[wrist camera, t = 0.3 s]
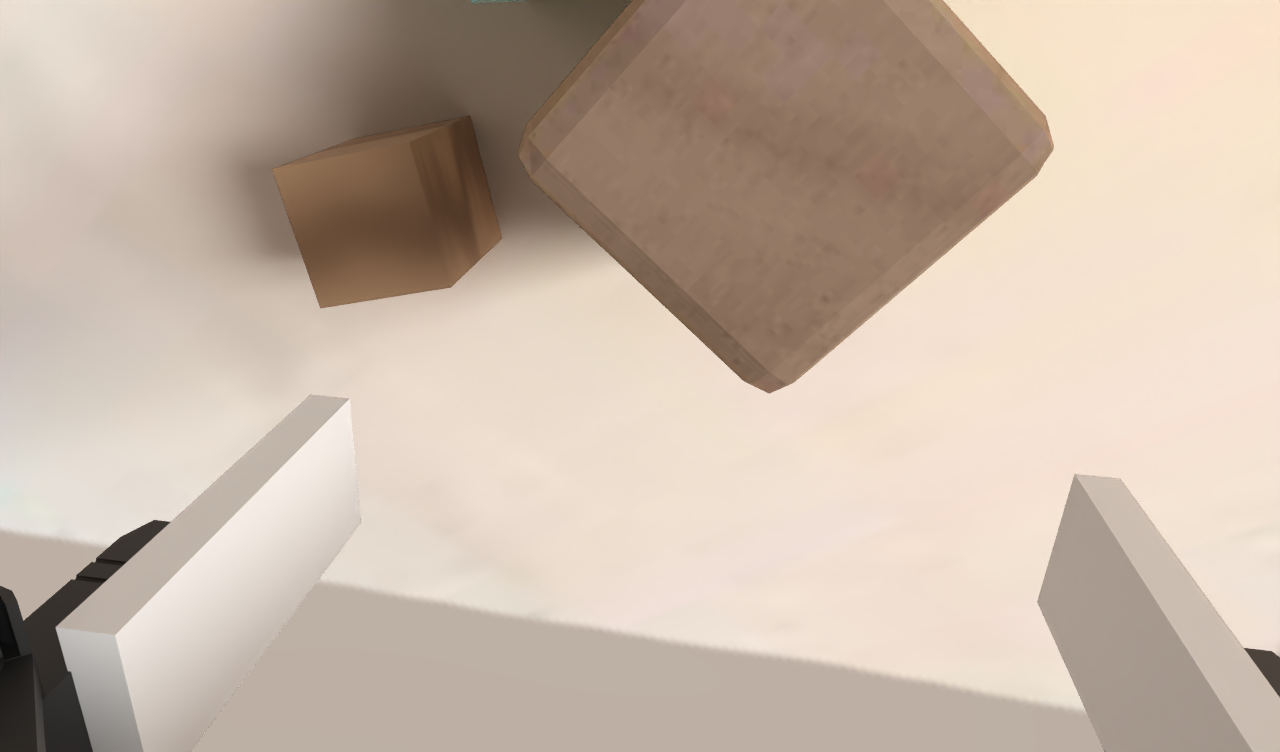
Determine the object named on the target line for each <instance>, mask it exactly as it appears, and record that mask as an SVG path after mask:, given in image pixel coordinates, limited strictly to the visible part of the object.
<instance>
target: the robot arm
mask: <svg viewBox="0 0 1280 752" xmlns="http://www.w3.org/2000/svg"><path fill="white" fill-rule="evenodd" d="M360 523H361V516H360V505H359V495H358V484H357V473H356V462H355V451H354V441H353V430H352V419H351V408H350V399H348V398H338V397H329V396H319V395H310V396H308V397H307V398H306V399H305V400H304V401H303V402H302V403H301V404H300V405H299V406H298V407H296V408H295V409H294V410H293V411H292V412H291V413H290V414H289V415H288V416H287V417H285V418H284V419H283V420H282V421H281V422H280V423H279V424H278V425H277V426H276V427H274V428H273V429H272V430H271V431H270V432H269V433H268V434H267V435H266V436H265V437H264V438H262V439H261V440H260V441H259V442H258V443H257V444H256V445H255V446H254V447H253V448H251V449H250V450H249V451H248V452H247V453H246V454H245V455H244V456H243V457H242V458H241V459H239V460H238V461H237V462H236V463H235V464H234V465H233V466H232V467H231V468H230V469H228V470H227V471H226V472H225V473H224V474H223V475H222V476H221V477H220V478H219V479H217V480H216V481H215V482H214V483H213V484H212V485H211V486H210V487H209V488H208V489H207V490H205V491H204V492H203V493H202V494H201V495H200V496H199V497H198V498H197V499H196V500H194V501H193V502H192V503H191V504H190V505H189V506H188V507H187V508H186V509H185V510H184V511H182V512H181V513H180V514H179V515H178V516H177V517H176V518H175V519H174V520H173V521H171V522H167V521H158V520H153V521H151V522H149V523H147V524H145V525H143V526H141V527H139V528H137V529H136V530H134V531H132V532H130V533H128V534H126V535H124V536H122V537H120V538H119V539H118V540H117V541H116V542H114V543H113V544H112V545H111V546H110V547H109V548H107V549H106V550H105V551H104V552H103V553H102V554H101V555H99V556H98V557H97V558H96V562H95V563H93V562H91V563H90V564H89V565H88V566H87V567H85V568H84V569H83V570H82V571H81V572H80V573H78V574H77V577H76V579H75V580H70V581H69V582H68V583H67V584H66V585H65V586H63V587H62V588H61V589H60V590H59V591H58V592H57V593H55V594H54V595H53V596H52V597H51V598H50V599H48V600H47V601H46V602H45V603H44V604H43V605H41V606H40V607H39V608H38V609H37V610H36V611H35V612H33V613H32V614H31V615H30V616H29V617H28V618H26V619H25V620H24V621H23V619H22V616H21V612H20V609H19V606H18V602H17V600H16V598H15V596H14V594H13V592H12V591H11V590H9V589H6V588H4V587H2V586H0V752H191V751H192V750H193V748H194V747H195V746H196V744H197V743H198V742H199V740H200V739H201V737H202V736H203V735H204V733H205V732H206V731H207V729H208V728H209V727H210V725H211V724H212V723H213V721H214V720H215V719H216V717H217V716H218V715H219V713H220V712H221V710H222V709H223V708H224V707H225V705H226V704H227V703H228V701H229V700H230V698H231V697H232V696H233V694H234V693H235V692H236V690H237V689H238V688H239V686H240V685H241V684H242V682H243V681H244V680H245V678H246V677H247V676H248V674H249V673H250V672H251V670H252V669H253V667H254V666H255V665H256V663H257V662H258V661H259V659H260V658H261V657H262V655H263V654H264V653H265V651H266V650H267V649H268V647H269V646H270V644H271V643H272V642H273V641H274V639H275V638H276V636H277V635H278V634H279V632H280V631H281V630H282V628H283V627H284V626H285V624H286V623H287V622H288V620H289V619H290V618H291V616H292V615H293V614H294V612H295V611H296V609H297V608H298V607H299V605H300V604H301V603H302V601H303V600H304V599H305V597H306V596H307V595H308V593H309V592H310V591H311V589H312V588H313V587H314V585H315V584H316V583H317V581H318V580H319V579H320V577H321V576H322V574H323V573H324V572H325V570H326V569H327V568H328V566H329V565H330V564H331V562H332V561H333V560H334V558H335V557H336V556H337V554H338V553H339V552H340V550H341V549H342V548H343V546H344V545H345V543H346V542H347V541H348V539H349V538H350V537H351V535H352V534H353V533H354V531H355V530H356V529H357V527H358V526H359V525H360ZM1037 602H1038V605H1039V607H1040V609H1041V611H1042V613H1043V616H1044V618H1045V620H1046V622H1047V625H1048V627H1049V629H1050V631H1051V634H1052V636H1053V638H1054V640H1055V642H1056V645H1057V647H1058V649H1059V651H1060V654H1061V656H1062V658H1063V660H1064V663H1065V665H1066V667H1067V669H1068V671H1069V674H1070V676H1071V678H1072V680H1073V683H1074V685H1075V687H1076V689H1077V692H1078V694H1079V696H1080V698H1081V700H1082V703H1083V705H1084V707H1085V709H1086V712H1087V714H1088V716H1089V718H1090V721H1091V723H1092V725H1093V727H1094V729H1095V732H1096V734H1097V736H1098V738H1099V740H1100V743H1101V745H1102V747H1103V750H1104V752H1280V657H1278V656H1277V655H1276V654H1275V653H1273V652H1272V651H1265V650H1256V649H1248V648H1243V646H1242V645H1241V644H1240V642H1239V641H1238V640H1237V638H1236V637H1235V635H1234V634H1233V633H1232V631H1231V630H1230V629H1229V627H1228V626H1227V624H1226V623H1225V622H1224V620H1223V619H1222V618H1221V616H1220V615H1219V613H1218V612H1217V611H1216V609H1215V608H1214V607H1213V605H1212V604H1211V602H1210V601H1209V600H1208V598H1207V597H1206V596H1205V594H1204V593H1203V591H1202V590H1201V589H1200V587H1199V586H1198V585H1197V583H1196V582H1195V580H1194V579H1193V578H1192V576H1191V575H1190V574H1189V572H1188V571H1187V569H1186V568H1185V567H1184V565H1183V564H1182V563H1181V561H1180V560H1179V558H1178V557H1177V556H1176V554H1175V553H1174V552H1173V550H1172V549H1171V547H1170V546H1169V545H1168V543H1167V542H1166V541H1165V539H1164V538H1163V537H1162V535H1161V534H1160V532H1159V531H1158V530H1157V528H1156V527H1155V526H1154V524H1153V523H1152V521H1151V520H1150V519H1149V517H1148V516H1147V515H1146V513H1145V512H1144V510H1143V509H1142V508H1141V506H1140V505H1139V504H1138V502H1137V501H1136V499H1135V498H1134V497H1133V495H1132V494H1131V493H1130V491H1129V490H1128V488H1127V487H1126V486H1125V484H1124V483H1123V482H1122V480H1121V479H1117V478H1108V477H1098V476H1088V475H1079V474H1075V475H1074V478H1073V482H1072V485H1071V488H1070V492H1069V495H1068V499H1067V502H1066V505H1065V509H1064V512H1063V516H1062V519H1061V522H1060V526H1059V529H1058V533H1057V536H1056V540H1055V543H1054V546H1053V550H1052V553H1051V557H1050V560H1049V563H1048V567H1047V570H1046V574H1045V577H1044V580H1043V584H1042V587H1041V591H1040V594H1039V598H1038V601H1037Z"/></svg>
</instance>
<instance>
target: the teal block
mask: <svg viewBox="0 0 1280 752" xmlns="http://www.w3.org/2000/svg"><path fill="white" fill-rule="evenodd" d="M518 1H527V0H471V2H472V4H474V3H496V2H518Z"/></svg>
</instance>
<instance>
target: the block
mask: <svg viewBox="0 0 1280 752" xmlns="http://www.w3.org/2000/svg"><path fill="white" fill-rule="evenodd" d="M1053 148H1054V145H1053V141H1052V138H1051V134H1050V130H1049V127H1048V123H1047V120H1046V116H1045V115H1044V114H1043V113H1042V112H1041V110H1040V109H1039V108H1038V107H1037V106H1036V105H1035V104H1034V103H1033V101H1032V100H1031V99H1030V98H1029V97H1028V96H1027V95H1026V93H1025V92H1024V91H1023V90H1022V89H1021V88H1020V87H1019V86H1018V84H1017V83H1016V82H1015V81H1014V80H1013V79H1012V78H1011V77H1010V75H1009V74H1008V73H1007V72H1006V71H1005V70H1004V69H1003V68H1002V66H1001V65H1000V64H999V63H998V62H997V61H996V60H995V58H994V57H993V56H992V55H991V54H990V53H989V52H988V51H987V49H986V48H985V47H984V46H983V45H982V44H981V43H980V42H979V40H978V39H977V38H976V37H975V36H974V35H973V34H972V33H971V31H970V30H969V29H968V28H967V27H966V26H965V25H964V23H963V22H962V21H961V20H960V19H959V18H958V17H957V16H956V14H955V13H954V12H953V11H952V10H951V9H950V8H949V7H948V5H947V4H946V3H945V2H944V1H943V0H632V1H631V2H630V4H629V5H628V6H627V7H626V8H625V9H624V11H623V12H622V13H621V14H620V15H619V16H618V18H617V19H616V20H615V21H614V22H613V24H612V25H611V26H610V27H609V28H608V29H607V31H606V32H605V33H604V34H603V35H602V36H601V38H600V39H599V40H598V41H597V42H596V43H595V45H594V46H593V47H592V48H591V49H590V51H589V52H588V53H587V54H586V55H585V56H584V58H583V59H582V60H581V61H580V62H579V63H578V65H577V66H576V67H575V68H574V69H573V70H572V72H571V73H570V74H569V75H568V76H567V77H566V79H565V80H564V81H563V82H562V83H561V85H560V86H559V87H558V88H557V89H556V90H555V92H554V93H553V94H552V95H551V96H550V97H549V99H548V100H547V101H546V102H545V103H544V104H543V106H542V107H541V108H540V109H539V110H538V111H537V113H536V114H535V115H534V116H533V117H532V119H531V120H530V121H529V122H528V123H527V124H526V127H525V130H524V134H523V137H522V140H521V143H520V146H519V150H518V155H519V157H520V159H521V161H522V163H523V165H524V167H525V169H526V171H527V173H528V175H529V178H530V180H531V181H532V182H533V183H534V184H535V185H537V186H538V187H539V188H540V189H541V190H542V191H543V192H544V193H545V194H546V195H547V196H548V197H549V198H550V199H551V200H552V201H554V202H555V203H556V204H557V205H558V206H559V207H560V208H561V209H562V210H563V211H564V212H565V213H566V214H567V215H568V216H569V217H570V218H572V219H573V220H574V221H575V222H576V223H577V224H578V225H579V226H580V227H581V228H582V229H583V230H584V231H585V232H586V233H587V234H588V235H590V236H591V237H592V238H593V239H594V240H595V241H596V242H597V243H598V244H599V245H600V246H601V247H602V248H603V249H604V250H605V251H606V252H608V253H609V254H610V255H611V256H612V257H613V258H614V259H615V260H616V261H617V262H618V263H619V264H620V265H621V266H622V267H623V268H625V269H626V270H627V271H628V272H629V273H630V274H631V275H632V276H633V277H634V278H635V279H636V280H637V281H638V282H639V283H640V284H641V285H643V286H644V287H645V288H646V289H647V290H648V291H649V292H650V293H651V294H652V295H653V296H654V297H655V298H656V299H657V300H658V301H659V302H661V303H662V304H663V305H664V306H665V307H666V308H667V309H668V310H669V311H670V312H671V313H672V314H673V315H674V316H675V317H676V318H678V319H679V320H680V321H681V322H682V323H683V324H684V325H685V326H686V327H687V328H688V329H689V330H690V331H691V332H692V333H693V334H694V335H696V336H697V337H698V338H699V339H700V340H701V341H702V342H703V343H704V344H705V345H706V346H707V347H708V348H709V349H710V350H711V351H712V352H714V353H715V354H716V355H717V356H718V357H719V358H720V359H721V360H722V361H723V362H724V363H725V364H726V365H727V366H728V367H729V368H730V369H732V370H733V371H734V372H735V373H736V374H737V375H738V376H739V377H740V378H741V379H742V380H743V381H745V382H747V383H749V384H751V385H753V386H755V387H757V388H759V389H761V390H763V391H765V392H767V393H771V392H774V391H776V390H778V389H781V388H783V387H785V386H788V385H790V384H792V383H794V382H795V381H796V380H797V379H799V378H800V377H801V376H802V375H803V374H805V373H806V372H807V371H808V370H809V369H810V368H812V367H813V366H814V365H815V364H816V363H817V362H819V361H820V360H821V359H822V358H823V357H825V356H826V355H827V354H828V353H829V352H830V351H832V350H833V349H834V348H835V347H836V346H837V345H839V344H840V343H841V342H842V341H843V340H844V339H846V338H847V337H848V336H849V335H850V334H852V333H853V332H854V331H855V330H856V329H857V328H859V327H860V326H861V325H862V324H863V323H864V322H866V321H867V320H868V319H869V318H870V317H871V316H873V315H874V314H875V313H876V312H877V311H879V310H880V309H881V308H882V307H883V306H884V305H886V304H887V303H888V302H889V301H890V300H891V299H893V298H894V297H895V296H896V295H897V294H899V293H900V292H901V291H902V290H903V289H904V288H906V287H907V286H908V285H909V284H910V283H911V282H913V281H914V280H915V279H916V278H917V277H918V276H920V275H921V274H922V273H923V272H924V271H926V270H927V269H928V268H929V267H930V266H931V265H933V264H934V263H935V262H936V261H937V260H938V259H940V258H941V257H942V256H943V255H944V254H945V253H947V252H948V251H949V250H950V249H951V248H953V247H954V246H955V245H956V244H957V243H958V242H960V241H961V240H962V239H963V238H964V237H965V236H967V235H968V234H969V233H970V232H971V231H973V230H974V229H975V228H976V227H977V226H978V225H980V224H981V223H982V222H983V221H984V220H985V219H987V218H988V217H989V216H990V215H991V214H992V213H994V212H995V211H996V210H997V209H998V208H1000V207H1001V206H1002V205H1003V204H1004V203H1005V202H1007V201H1008V200H1009V199H1010V198H1011V197H1012V196H1014V195H1015V194H1016V193H1017V192H1018V191H1019V190H1021V189H1022V188H1023V187H1024V186H1025V185H1027V184H1028V183H1029V182H1030V181H1031V180H1032V179H1034V178H1035V177H1036V176H1037V175H1038V173H1039V171H1040V169H1041V168H1042V166H1043V164H1044V162H1045V161H1046V160H1047V158H1048V157H1049V155H1050V154H1051V152H1052V151H1053Z"/></svg>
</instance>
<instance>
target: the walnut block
mask: <svg viewBox="0 0 1280 752" xmlns="http://www.w3.org/2000/svg"><path fill="white" fill-rule="evenodd" d="M272 171H273V174H274V177H275V180H276V183H277V186H278V189H279V191H280V194H281V197H282V200H283V203H284V206H285V209H286V211H287V214H288V217H289V220H290V223H291V226H292V229H293V231H294V234H295V237H296V240H297V243H298V246H299V249H300V251H301V254H302V257H303V260H304V263H305V266H306V269H307V271H308V274H309V277H310V280H311V283H312V286H313V289H314V291H315V294H316V297H317V300H318V303H319V306H320V308H325V307H331V306H338V305H344V304H350V303H356V302H362V301H369V300H375V299H381V298H387V297H394V296H400V295H406V294H412V293H419V292H425V291H431V290H437V289H444V288H450V287H452V286H453V285H454V284H455V283H456V282H457V281H458V280H459V279H460V278H461V277H462V276H463V275H464V274H465V273H466V272H467V271H468V270H469V269H470V268H472V267H473V266H474V265H475V264H476V263H477V262H478V261H479V260H480V259H481V258H482V257H483V256H484V255H485V254H486V253H487V252H488V251H489V250H490V249H491V248H492V247H493V246H495V245H496V244H497V243H498V242H499V241H500V240H501V239H502V237H501V233H500V229H499V226H498V222H497V218H496V214H495V210H494V206H493V203H492V199H491V195H490V191H489V187H488V183H487V180H486V176H485V172H484V168H483V164H482V160H481V157H480V153H479V149H478V145H477V141H476V137H475V133H474V130H473V126H472V122H471V118H470V116H467V117H462V118H457V119H452V120H447V121H442V122H437V123H432V124H427V125H422V126H417V127H412V128H407V129H402V130H397V131H392V132H387V133H382V134H376V135H371V136H366V137H361V138H356V139H353V140H350V141H347V142H344V143H342V144H339V145H336V146H334V147H331V148H328V149H325V150H323V151H320V152H317V153H314V154H312V155H309V156H306V157H303V158H301V159H298V160H295V161H292V162H290V163H287V164H284V165H281V166H279V167H276V168H273V169H272Z"/></svg>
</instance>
